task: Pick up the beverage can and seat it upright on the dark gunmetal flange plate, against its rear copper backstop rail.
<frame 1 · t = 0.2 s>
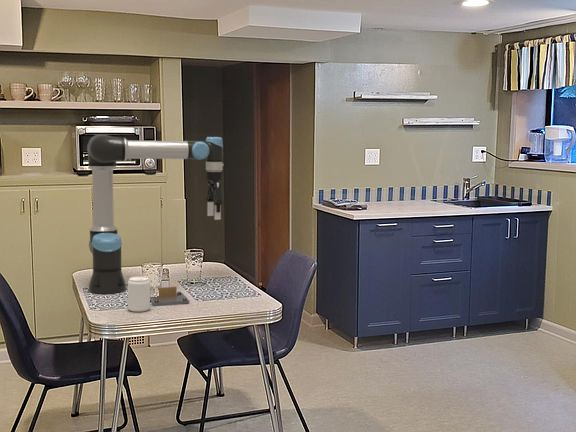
hand: (213, 217, 321), 28 cm above the table, fingers open, 13 cm apart
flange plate: (168, 300, 279), on the table
beverage can: (139, 310, 264), on the table
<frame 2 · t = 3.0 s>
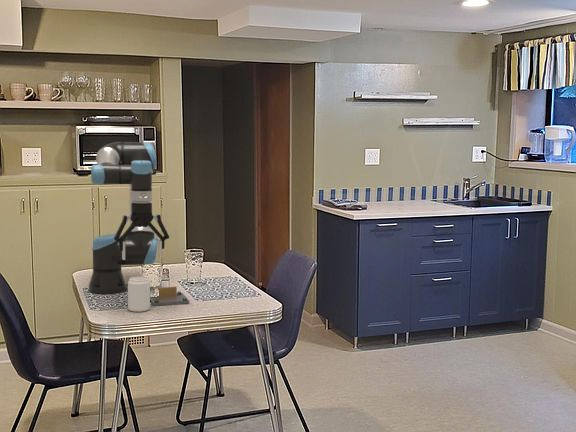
hand: (142, 258, 264), 19 cm above the table, fingers open, 13 cm apart
nothing on the table moved.
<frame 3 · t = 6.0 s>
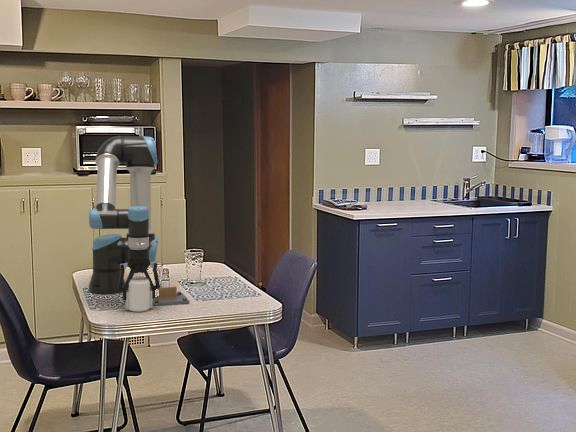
hand: (139, 307, 264), 1 cm above the table, fingers closed on beverage can, 8 cm apart
beverage can: (139, 310, 264), on the table, touching gripper
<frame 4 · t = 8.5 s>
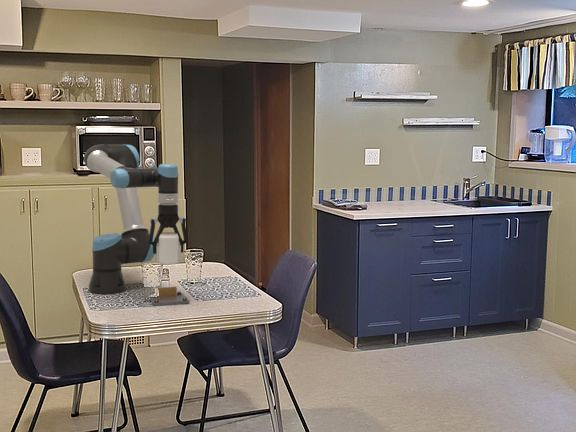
hand: (168, 261, 277), 16 cm above the table, fingers closed on beverage can, 8 cm apart
beverage can: (168, 263, 277), point 15 cm above the table, touching gripper
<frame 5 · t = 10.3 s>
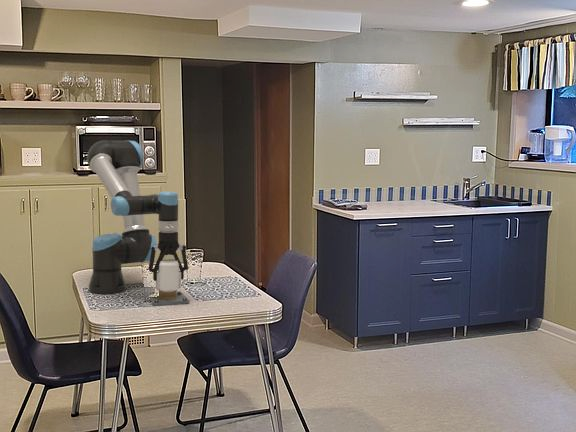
hand: (168, 288, 278), 5 cm above the table, fingers closed on beverage can, 8 cm apart
beverage can: (168, 290, 278), point 4 cm above the table, touching gripper
when the fingers open (4 cm above the table, at t = 11.5 s): beverage can drops 2 cm, resting on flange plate.
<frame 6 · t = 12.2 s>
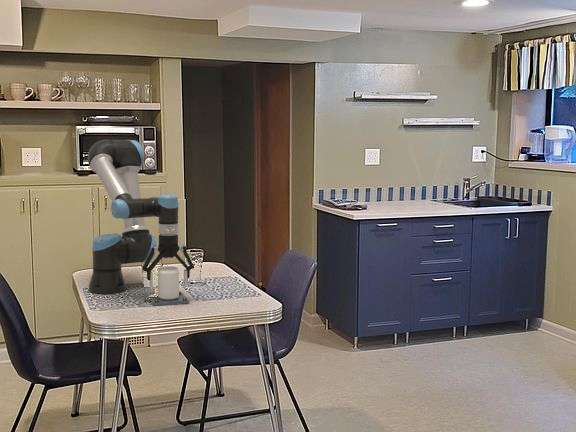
hand: (168, 287, 278), 6 cm above the table, fingers open, 13 cm apart
beverage can: (168, 298, 278), point 1 cm above the table, touching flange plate
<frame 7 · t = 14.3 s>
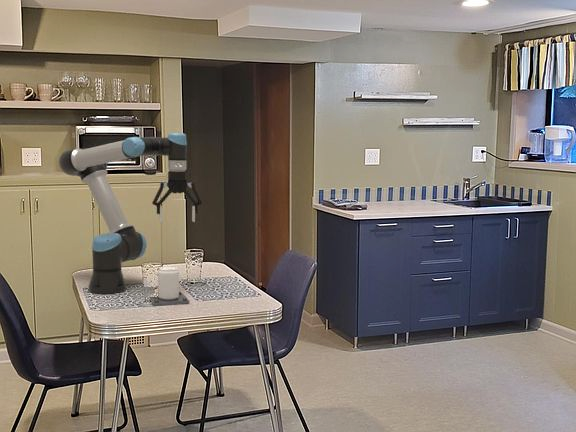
hand: (177, 221, 292), 29 cm above the table, fingers open, 13 cm apart
nothing on the table moved.
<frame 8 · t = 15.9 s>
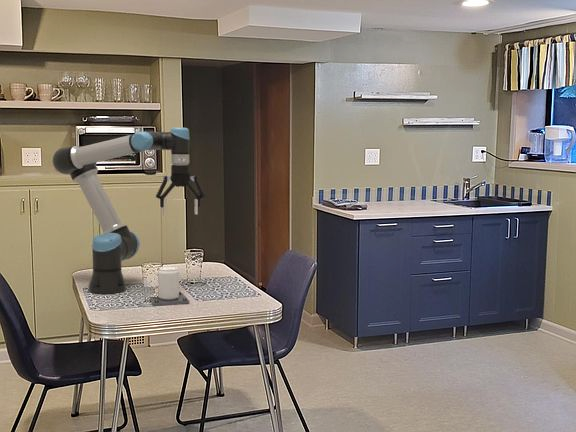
hand: (180, 214, 298), 32 cm above the table, fingers open, 13 cm apart
nothing on the table moved.
at the end: beverage can inside the target area on the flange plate (0.5 cm from its centre), point 1.0 cm above the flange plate's base; beverage can tilted 0°; the gripper is holding nothing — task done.
